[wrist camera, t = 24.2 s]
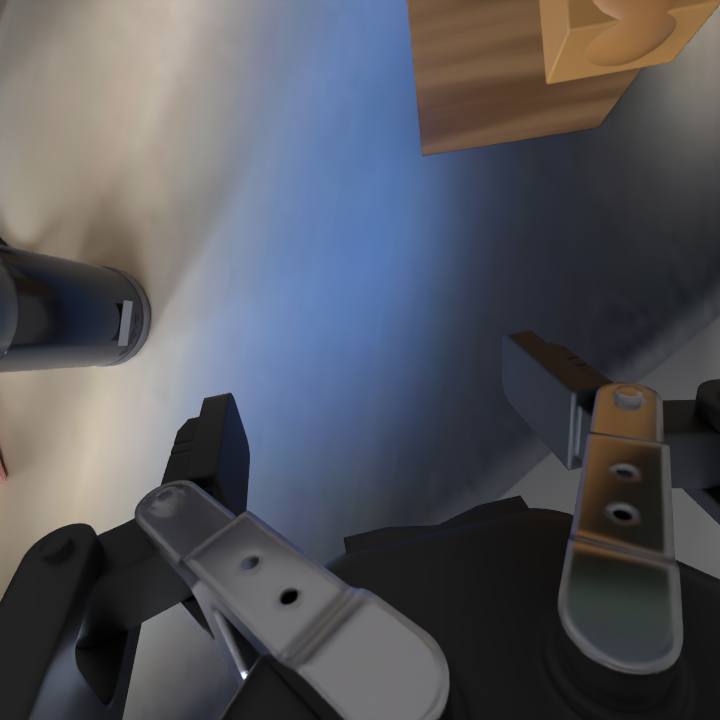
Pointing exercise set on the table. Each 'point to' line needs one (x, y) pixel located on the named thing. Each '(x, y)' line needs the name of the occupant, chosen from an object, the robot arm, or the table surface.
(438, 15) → the oven stand
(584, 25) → the block with domed bump
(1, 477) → the cell phone
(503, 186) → the table surface
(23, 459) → the table surface
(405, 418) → the table surface
